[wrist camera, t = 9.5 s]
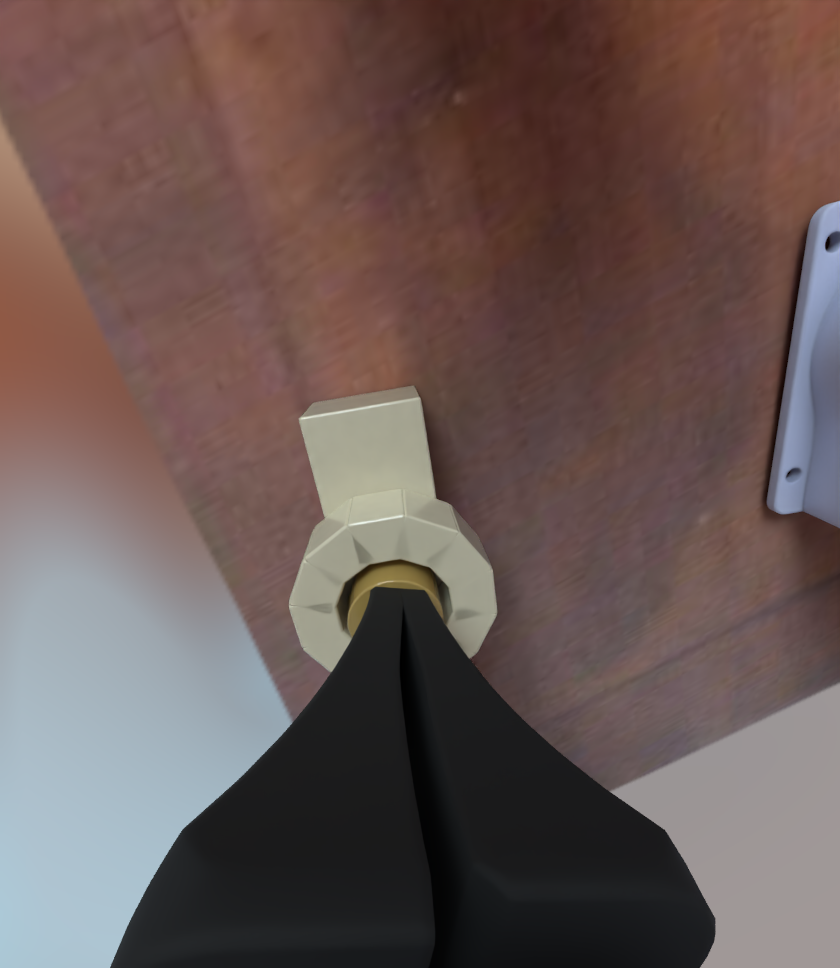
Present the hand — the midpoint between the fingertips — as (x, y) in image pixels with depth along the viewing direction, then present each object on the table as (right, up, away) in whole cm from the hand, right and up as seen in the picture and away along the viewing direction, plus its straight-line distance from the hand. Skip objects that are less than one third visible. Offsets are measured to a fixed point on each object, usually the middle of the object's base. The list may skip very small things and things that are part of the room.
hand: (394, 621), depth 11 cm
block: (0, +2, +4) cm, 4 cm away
